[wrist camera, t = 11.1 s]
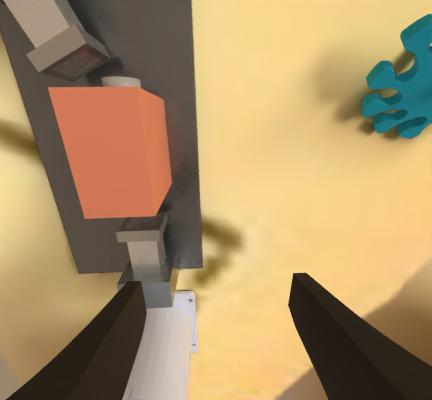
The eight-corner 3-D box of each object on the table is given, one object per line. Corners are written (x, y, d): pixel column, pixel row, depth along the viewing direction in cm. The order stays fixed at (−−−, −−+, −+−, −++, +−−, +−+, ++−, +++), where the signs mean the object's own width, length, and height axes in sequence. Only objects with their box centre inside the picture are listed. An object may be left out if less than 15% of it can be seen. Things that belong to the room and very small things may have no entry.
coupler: (172, 192, 17) (157, 229, 11) (127, 194, 16) (88, 232, 11) (162, 86, 14) (134, 64, 8) (107, 86, 14) (41, 64, 8)
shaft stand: (202, 261, 20) (202, 308, 15) (84, 266, 20) (43, 317, 15) (187, -97, 11) (174, -271, 6) (-29, -105, 11) (-234, -303, 6)
